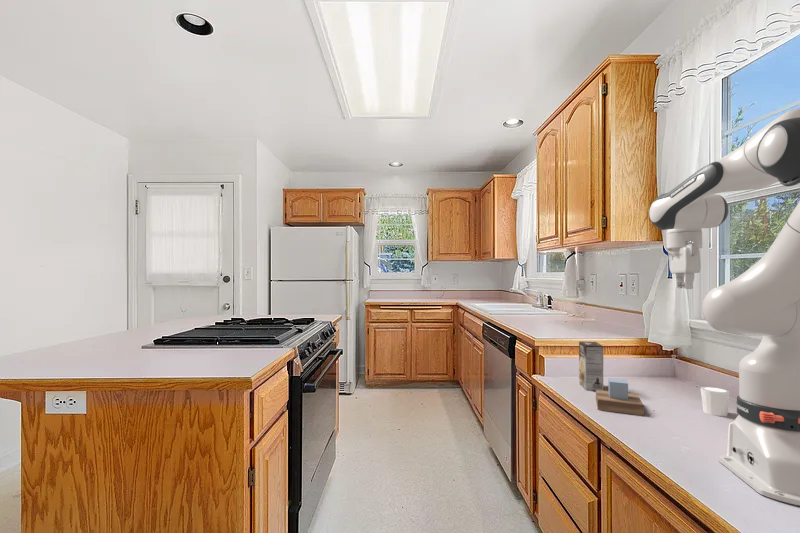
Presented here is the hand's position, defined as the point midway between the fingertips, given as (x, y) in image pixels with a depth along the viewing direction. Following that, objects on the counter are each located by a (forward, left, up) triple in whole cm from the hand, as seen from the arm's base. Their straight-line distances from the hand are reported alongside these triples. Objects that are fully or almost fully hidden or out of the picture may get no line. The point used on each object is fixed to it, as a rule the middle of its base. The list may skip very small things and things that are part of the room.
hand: (684, 288), depth 119 cm
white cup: (+4, -8, -37) cm, 38 cm away
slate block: (-2, +18, -34) cm, 39 cm away
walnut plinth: (-2, +18, -37) cm, 41 cm away
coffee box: (+19, +25, -37) cm, 49 cm away
